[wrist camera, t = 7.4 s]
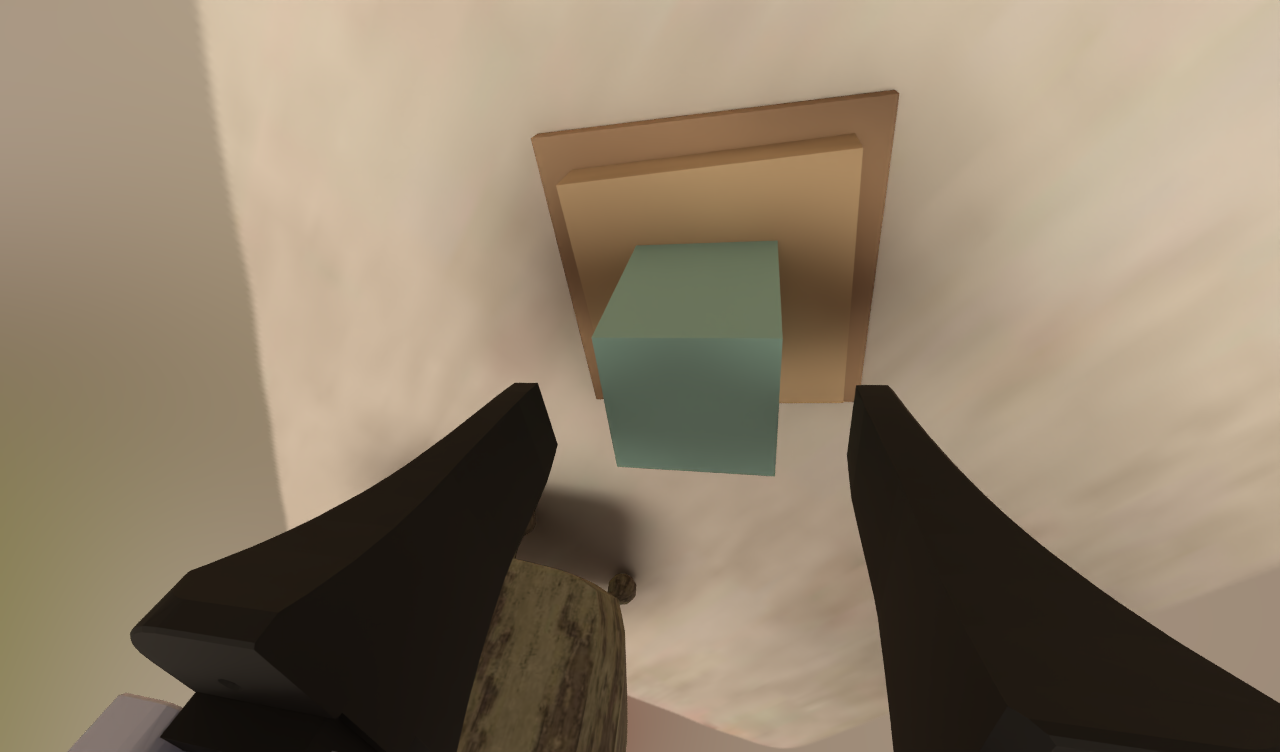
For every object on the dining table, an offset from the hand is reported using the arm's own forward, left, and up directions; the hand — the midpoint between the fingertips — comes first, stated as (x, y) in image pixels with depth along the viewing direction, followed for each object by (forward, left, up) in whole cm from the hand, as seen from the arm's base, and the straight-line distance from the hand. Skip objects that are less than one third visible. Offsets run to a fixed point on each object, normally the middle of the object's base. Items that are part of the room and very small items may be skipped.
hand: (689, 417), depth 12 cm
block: (0, 0, -5) cm, 5 cm away
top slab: (0, 0, -7) cm, 7 cm away
